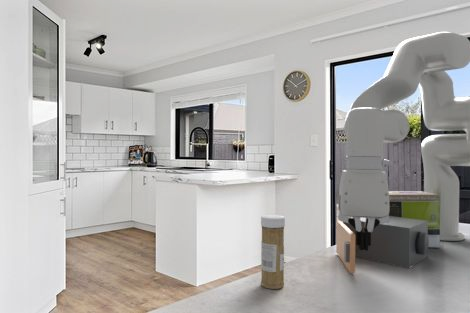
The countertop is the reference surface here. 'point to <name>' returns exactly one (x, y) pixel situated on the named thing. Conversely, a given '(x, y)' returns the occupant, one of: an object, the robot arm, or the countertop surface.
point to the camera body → (396, 241)
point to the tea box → (418, 210)
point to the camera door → (346, 246)
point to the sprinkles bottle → (272, 251)
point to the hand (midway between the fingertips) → (362, 248)
